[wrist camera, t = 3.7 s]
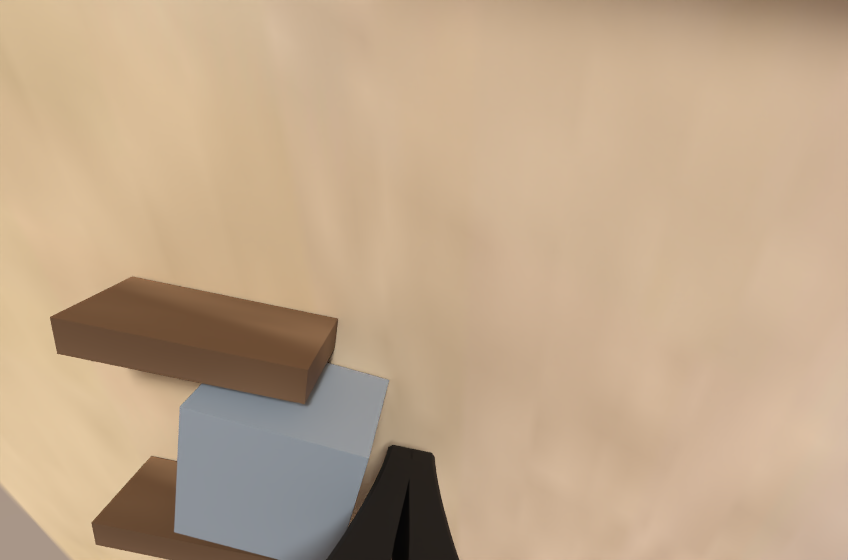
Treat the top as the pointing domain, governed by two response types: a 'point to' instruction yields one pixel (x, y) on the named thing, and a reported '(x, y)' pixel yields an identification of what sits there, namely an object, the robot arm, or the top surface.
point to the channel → (194, 361)
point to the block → (276, 464)
